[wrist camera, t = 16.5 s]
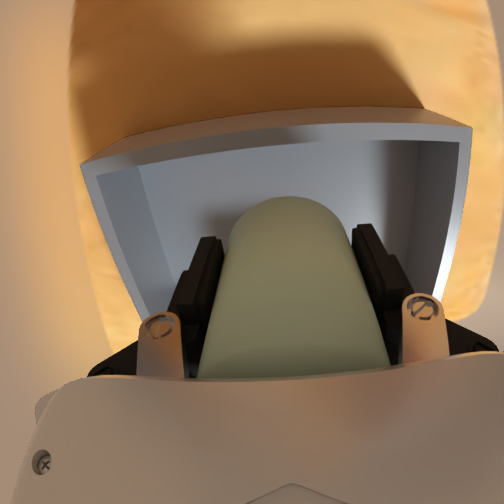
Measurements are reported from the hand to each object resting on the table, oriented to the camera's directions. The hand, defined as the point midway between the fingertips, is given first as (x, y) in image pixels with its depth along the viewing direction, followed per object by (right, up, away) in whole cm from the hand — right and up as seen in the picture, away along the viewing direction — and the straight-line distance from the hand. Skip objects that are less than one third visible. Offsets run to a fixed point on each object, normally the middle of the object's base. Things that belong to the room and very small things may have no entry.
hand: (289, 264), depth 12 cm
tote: (+1, +2, +9) cm, 10 cm away
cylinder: (0, 0, +1) cm, 1 cm away
